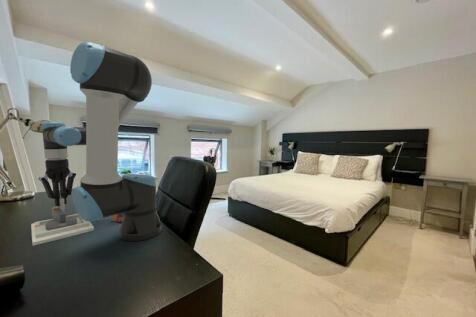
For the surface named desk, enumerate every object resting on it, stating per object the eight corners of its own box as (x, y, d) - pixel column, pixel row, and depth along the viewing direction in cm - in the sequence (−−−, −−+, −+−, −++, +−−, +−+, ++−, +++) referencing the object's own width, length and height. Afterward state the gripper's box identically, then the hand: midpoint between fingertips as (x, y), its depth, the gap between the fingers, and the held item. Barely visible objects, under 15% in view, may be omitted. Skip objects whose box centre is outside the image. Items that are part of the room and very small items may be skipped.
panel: (94, 230, 87) (93, 223, 86) (32, 245, 74) (31, 237, 74) (83, 216, 102) (83, 210, 102) (31, 226, 90) (30, 220, 89)
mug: (112, 225, 92) (111, 201, 91) (108, 218, 99) (106, 196, 98) (141, 218, 100) (140, 196, 99) (135, 213, 107) (135, 192, 106)
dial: (80, 224, 89) (79, 211, 88) (49, 232, 81) (48, 218, 81) (69, 216, 98) (68, 204, 98) (40, 223, 90) (39, 210, 90)
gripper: (69, 157, 99) (73, 206, 101) (32, 160, 87) (38, 216, 90) (78, 157, 96) (82, 209, 98) (42, 161, 84) (48, 219, 87)
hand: (61, 212), depth 94 cm, fingers closed
